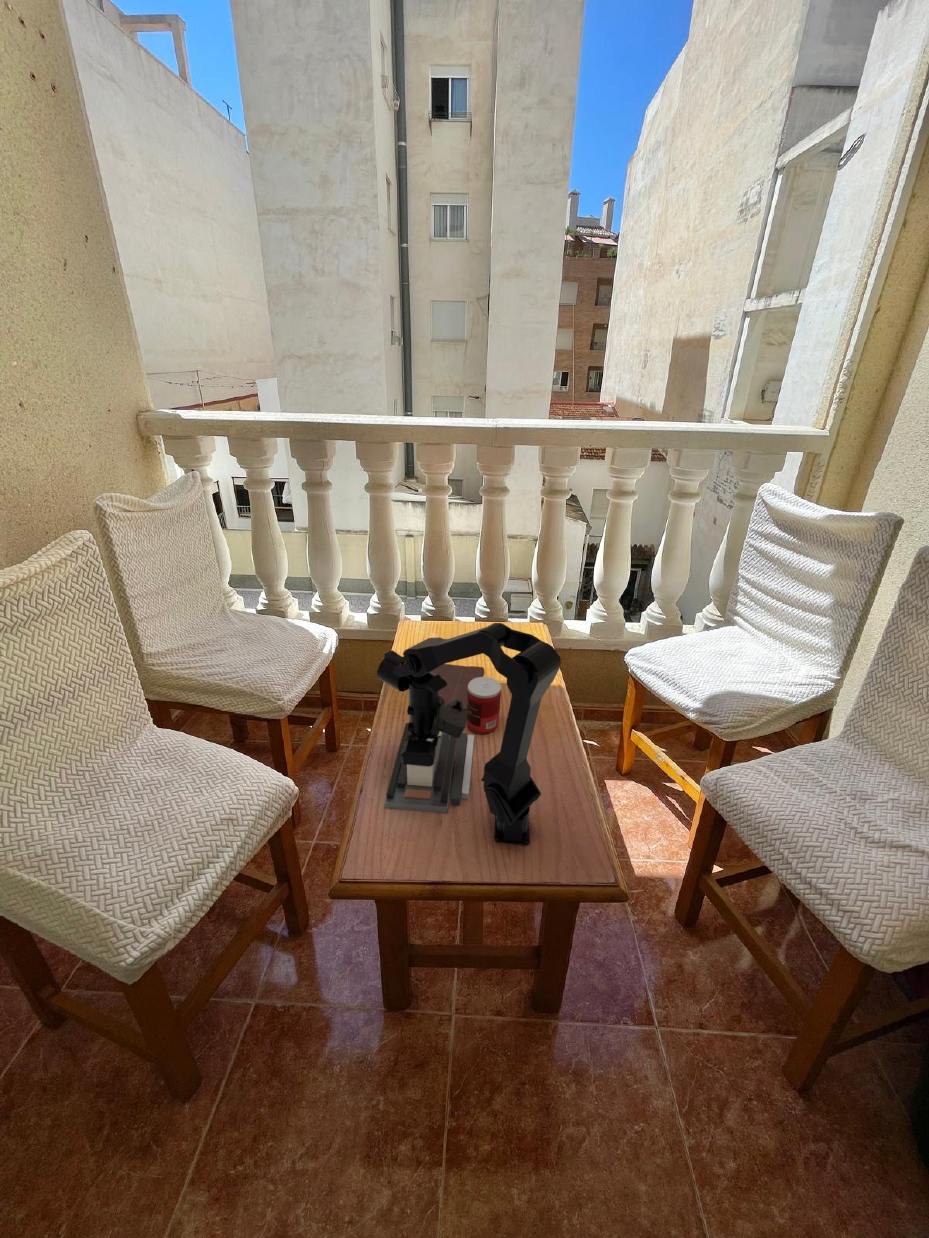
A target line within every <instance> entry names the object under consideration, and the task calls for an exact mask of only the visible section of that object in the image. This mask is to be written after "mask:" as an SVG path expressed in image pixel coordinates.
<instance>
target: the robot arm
mask: <svg viewBox="0 0 929 1238" xmlns="http://www.w3.org/2000/svg"><path fill="white" fill-rule="evenodd" d="M502 647H504V648H506V649H509V650H514V651H517V652H519V653H518V654H516V655H514V656H509V655H508V654H506V653H505V652H504V650H503V649H502ZM482 654H483V655H485V656H486V657H488V659H489V660H490V662H491V664H492V666H493V667H494V670H495V671H496V672H497V673H498V674H500V675H501V676H503V677H504V678H506V686H507V688H508V690H509V692H510V695H511V699H510V703H509V708H508V713H507V717H506V723H505V727H504V732H503V736H502V741H501V746H500V751H499V752H498V753H497V754H495V755H494V756H493V757H492V758H490V759H489V760H488V761H486V763H485V764H484V767H483V777H482V778H481V779H480V780H481V782H483V787H482V788H483V792H484V793H485V796H486V797H485V798H486V801H487V805H488V808H489V812H490V814H491V815H493V816H494V827H493V828H494V833H493V842H494V843H496V844H507V845H508V844H509V845H519V846H521V845H522V846H529V845H530V842H531V839H530V838H531V837H530V817H529V816H530V811H531V806H532V804H533V803H535V802H536V801H538V799H539V798H540V797H541V795H542V793H541V791H540V790H539V787H538V786H537V784H536V782H535V781H534V779H533V778H532V776H531V771H532V768H531V764H530V763H529V761H528V759H527V757H528V754H529V750H530V745H531V742H532V739H533V738H532V737H533V734H534V730H535V726H536V723H537V717H538V714H539V710H540V705H541V702H542V698H543V696H544V695H545V694H546V692H547V690H548V689H549V687H550V686H551V684H552V683H553V681H554V680H555V678H556V676H557V675H558V672H559V670H560V668H561V665H562V658H561V656H560V655H559V654H558V652H557V650H556V649H555V648H554V647H553V646H552V645H551V644H549V643H548V642H544V641H543V640H541V639H540V638H538V637H536V636H535V635H534V634H530V633H526V632H523V631H519V630H516V629H512V628H511V627H509V626H507V625H506V624H504V623H502V622H492V623H491V624H490V625H487V626H486V627H482V628H479V629H476V630H472V631H470V632H467V633H463V634H460V635H456V636H453V637H451V638H442V637H440V636H438V637H429V638H426V639H423V640H422V641H420V642H419V643H416V644H415V645H412V646H410V647H409V648H407V649H405V650H404V651H403V653H402V655H401V654H399V653H398V652H396V651H394V650H389V651H388V652H386V653H384V658H382V660H381V662H380V664H379V665H378V667H377V670H376V676H377V678H378V679H379V680H380V681H381V682H383V683H385V684H386V685H388V686H390V687H391V688H394V689H395V690H397V691H399V692H406V691H408V707H407V709H406V710H407V711H406V712H407V715H408V716H409V721H408V723H409V724H408V731H410V733H411V735H409V737H408V740H407V741H406V742H404V744H403V748H402V752H401V762H402V763H403V764H406V765H418V766H432V765H433V764H434V759H435V752H436V746H437V742H438V737H436V736H437V735H438V734H439V732H440V731H441V732H442V733H445V734H448V735H451V736H453V737H454V738H457V739H459V738H460V736H461V735H462V733H464V731H465V729H466V727H467V723H466V722H467V714H466V710H464V711H463V703H462V701H460V700H457V699H456V700H454V701H453V702H451V703H450V704H447V706H444V699H443V698H442V697H440V696H438V691H439V690H441V689H443V688H444V687H446V686H447V682H446V681H445V680H444V679H442V678H441V677H440V675H439V674H438V675H436V674H434V673H432V672H430V671H432V670H434V669H436V668H437V667H439V666H441V665H443V664H449V663H452V662H456V661H459V660H463V659H468V658H472V657H474V656H478V655H482Z"/></svg>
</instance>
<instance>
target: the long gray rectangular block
mask: <svg viewBox="0 0 929 1238" xmlns="http://www.w3.org/2000/svg"><path fill="white" fill-rule="evenodd" d="M474 743H475V734H473V735H472V734H468V733H467V732H463V733H462V735H461V736H460V738H457V746H456V753H455V756H456V757H455V761H454V762H455V763H454V768H453V776H452V784H451V785H452V787H451V791H450V803H449V804H450V806H457V807H460V805H461V799H465V800H466V799H467V800H469V797H470V788H471V787H470V785H471V775H472V763H473V756H474V754H473V753H474Z"/></svg>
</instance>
